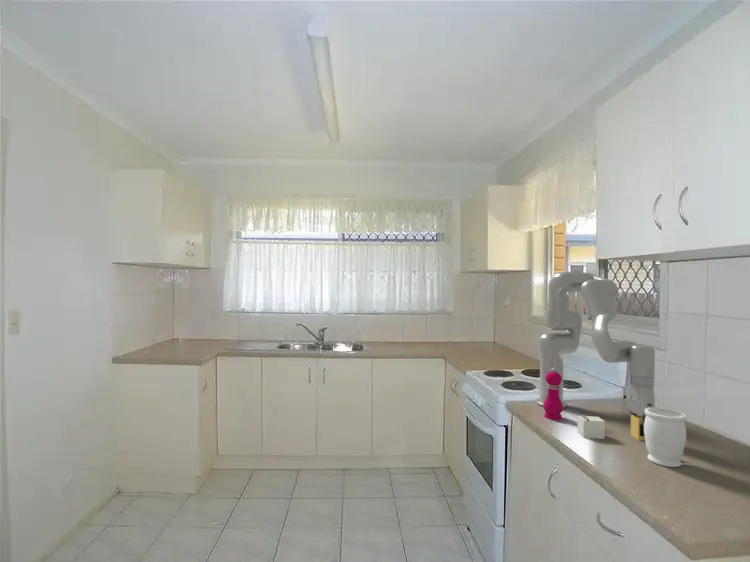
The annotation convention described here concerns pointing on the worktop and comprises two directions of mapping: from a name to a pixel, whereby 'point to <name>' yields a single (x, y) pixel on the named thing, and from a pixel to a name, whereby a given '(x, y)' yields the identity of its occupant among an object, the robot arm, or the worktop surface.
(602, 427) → the ticket
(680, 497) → the worktop surface
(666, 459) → the jar
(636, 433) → the stub
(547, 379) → the pepper mill
